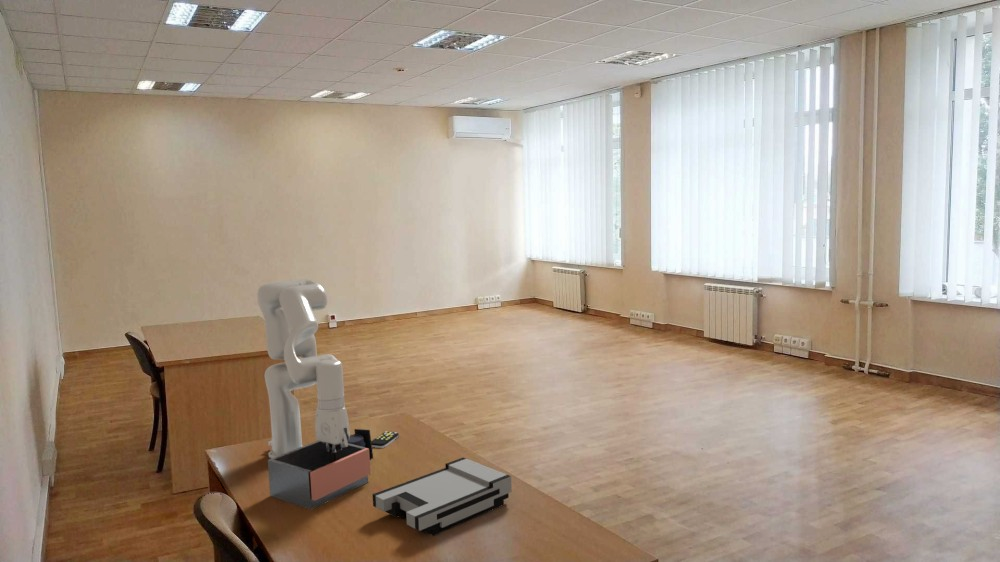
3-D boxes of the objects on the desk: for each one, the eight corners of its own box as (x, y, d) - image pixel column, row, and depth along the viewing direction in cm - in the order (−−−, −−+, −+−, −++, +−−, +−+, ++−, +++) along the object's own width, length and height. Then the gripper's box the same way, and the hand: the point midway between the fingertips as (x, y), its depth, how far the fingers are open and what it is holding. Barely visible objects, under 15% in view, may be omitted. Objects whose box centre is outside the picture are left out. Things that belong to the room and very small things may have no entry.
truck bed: (270, 496, 210) (267, 460, 209) (327, 470, 228) (325, 437, 227) (311, 510, 200) (309, 472, 199) (368, 482, 218) (366, 447, 217)
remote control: (367, 448, 249) (367, 442, 248) (385, 435, 261) (384, 430, 260) (383, 449, 247) (383, 444, 246) (400, 437, 259) (400, 431, 258)
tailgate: (311, 499, 200) (310, 472, 199) (367, 473, 217) (366, 448, 216) (314, 500, 199) (313, 473, 198) (370, 474, 217) (369, 448, 216)
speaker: (360, 454, 241) (358, 425, 239) (373, 458, 238) (370, 429, 236) (344, 463, 235) (341, 434, 233) (357, 468, 232) (354, 438, 229)
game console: (373, 518, 194) (372, 489, 193) (464, 483, 216) (463, 457, 215) (419, 544, 179) (418, 513, 178) (512, 504, 201) (511, 476, 200)
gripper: (303, 402, 208) (308, 463, 210) (339, 410, 199) (343, 473, 201) (323, 396, 214) (327, 455, 216) (359, 403, 205) (362, 464, 207)
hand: (335, 463), depth 209 cm, fingers closed
